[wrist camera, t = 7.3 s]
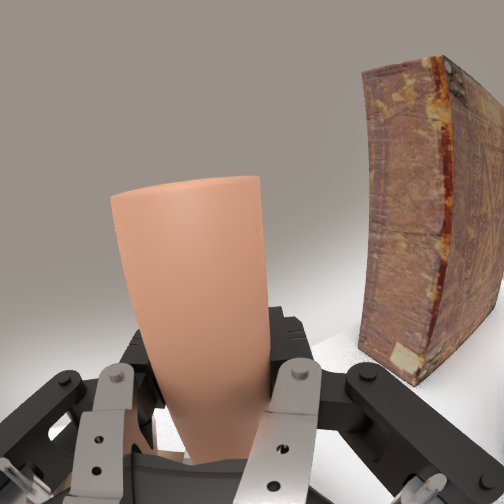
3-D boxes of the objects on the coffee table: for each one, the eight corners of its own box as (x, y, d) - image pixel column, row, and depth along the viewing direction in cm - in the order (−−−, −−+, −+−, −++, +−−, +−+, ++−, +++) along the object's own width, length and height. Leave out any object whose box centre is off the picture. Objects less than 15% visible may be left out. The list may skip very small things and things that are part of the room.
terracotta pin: (273, 441, 14) (256, 173, 9) (279, 499, 10) (264, 183, 5) (204, 443, 14) (141, 186, 9) (197, 500, 10) (81, 206, 5)
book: (453, 290, 40) (462, 112, 31) (495, 307, 32) (511, 114, 23) (356, 349, 31) (360, 69, 21) (413, 389, 23) (441, 52, 13)
